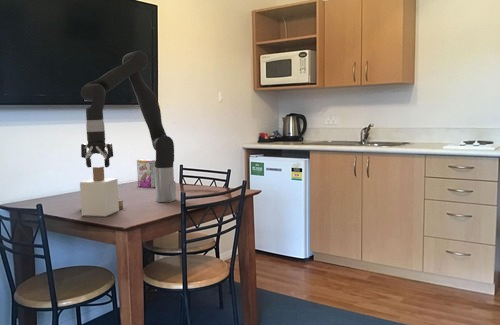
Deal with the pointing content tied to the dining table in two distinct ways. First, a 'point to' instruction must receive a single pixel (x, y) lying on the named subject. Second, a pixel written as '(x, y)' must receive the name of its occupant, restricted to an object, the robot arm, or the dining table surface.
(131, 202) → the dining table surface
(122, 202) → the walnut block
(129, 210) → the dining table surface
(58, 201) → the dining table surface
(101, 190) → the cover
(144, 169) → the candy bar box
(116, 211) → the mat
